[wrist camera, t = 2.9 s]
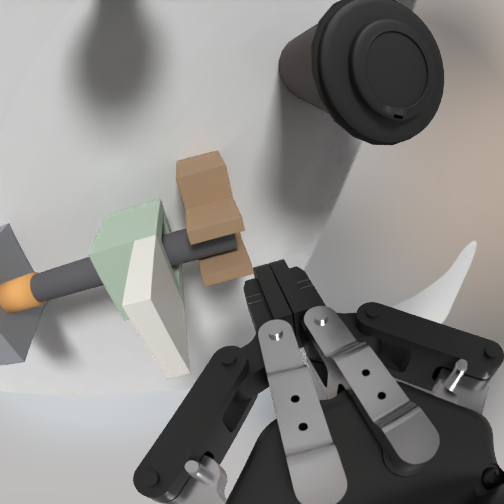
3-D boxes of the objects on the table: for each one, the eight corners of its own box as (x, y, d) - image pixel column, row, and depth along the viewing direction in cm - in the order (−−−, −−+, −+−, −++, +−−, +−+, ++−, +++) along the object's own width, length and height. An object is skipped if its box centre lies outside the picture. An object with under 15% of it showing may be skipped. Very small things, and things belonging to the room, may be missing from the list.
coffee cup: (291, 137, 21) (364, 180, 13) (238, 43, 17) (287, 13, 8) (374, 94, 20) (468, 118, 12) (333, 5, 16) (424, -20, 8)
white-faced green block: (160, 198, 19) (150, 298, 11) (181, 260, 22) (190, 373, 13) (105, 215, 19) (64, 320, 10) (131, 273, 21) (117, 387, 13)
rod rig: (217, 150, 21) (238, 187, 14) (238, 244, 25) (262, 309, 18) (-21, 237, 18) (-64, 292, 12) (19, 304, 23) (-7, 366, 16)
